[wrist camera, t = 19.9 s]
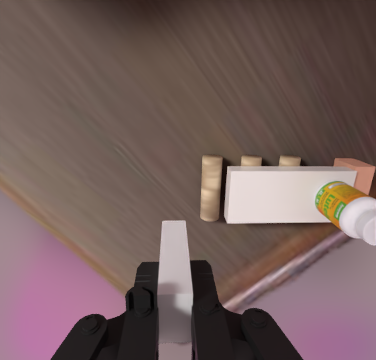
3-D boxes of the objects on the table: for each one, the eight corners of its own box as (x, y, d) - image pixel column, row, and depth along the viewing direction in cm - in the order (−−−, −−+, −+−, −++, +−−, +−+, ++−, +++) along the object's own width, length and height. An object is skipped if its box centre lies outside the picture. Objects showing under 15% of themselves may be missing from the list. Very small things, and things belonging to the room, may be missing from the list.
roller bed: (199, 212, 44) (201, 221, 41) (201, 154, 41) (203, 159, 38) (286, 212, 45) (294, 220, 42) (295, 155, 42) (304, 159, 39)
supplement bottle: (312, 182, 37) (358, 212, 28) (350, 176, 37) (408, 204, 28) (312, 216, 39) (355, 255, 30) (347, 210, 39) (402, 247, 30)
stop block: (324, 209, 45) (342, 223, 40) (335, 158, 42) (355, 166, 38) (341, 209, 45) (361, 222, 41) (352, 158, 42) (375, 166, 38)
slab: (224, 215, 41) (227, 223, 39) (227, 166, 38) (231, 171, 36) (335, 214, 42) (344, 222, 40) (345, 166, 40) (356, 171, 37)
